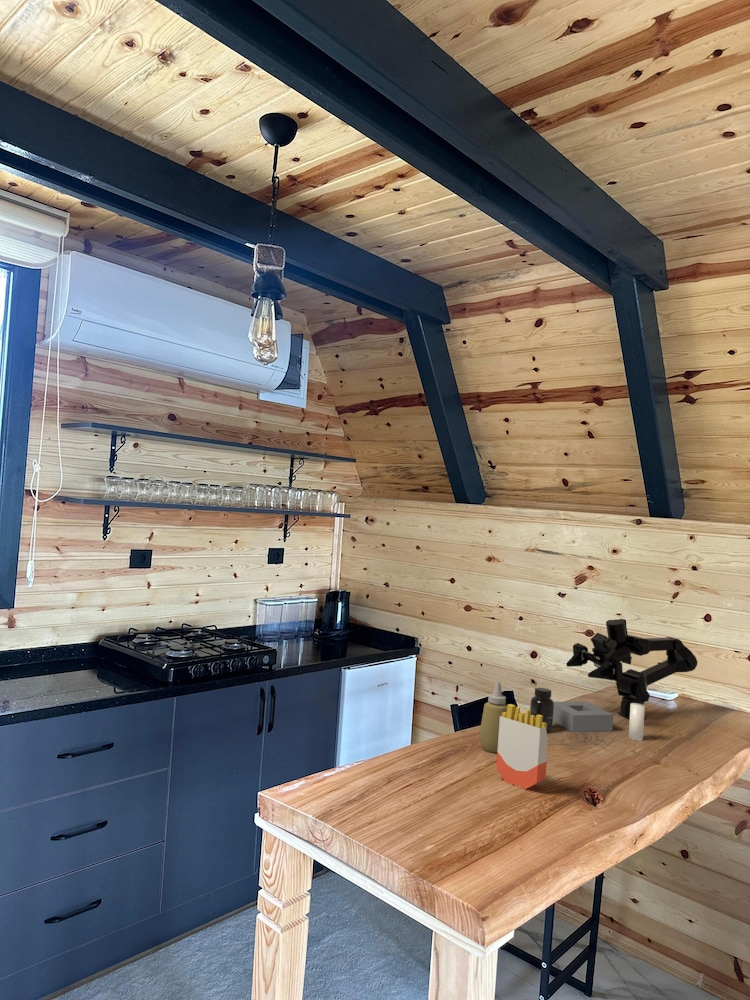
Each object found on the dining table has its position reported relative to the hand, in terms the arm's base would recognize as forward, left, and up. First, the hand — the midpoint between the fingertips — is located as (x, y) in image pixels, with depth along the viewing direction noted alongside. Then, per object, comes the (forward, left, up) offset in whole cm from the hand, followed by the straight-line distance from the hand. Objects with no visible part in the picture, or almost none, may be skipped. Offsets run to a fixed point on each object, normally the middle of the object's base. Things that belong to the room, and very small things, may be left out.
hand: (577, 670), depth 213 cm
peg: (-11, +15, -17) cm, 25 cm away
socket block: (-1, +1, -17) cm, 17 cm away
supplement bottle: (+15, +5, -17) cm, 23 cm away
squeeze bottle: (+38, +20, -17) cm, 46 cm away
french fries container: (+42, +42, -17) cm, 62 cm away
